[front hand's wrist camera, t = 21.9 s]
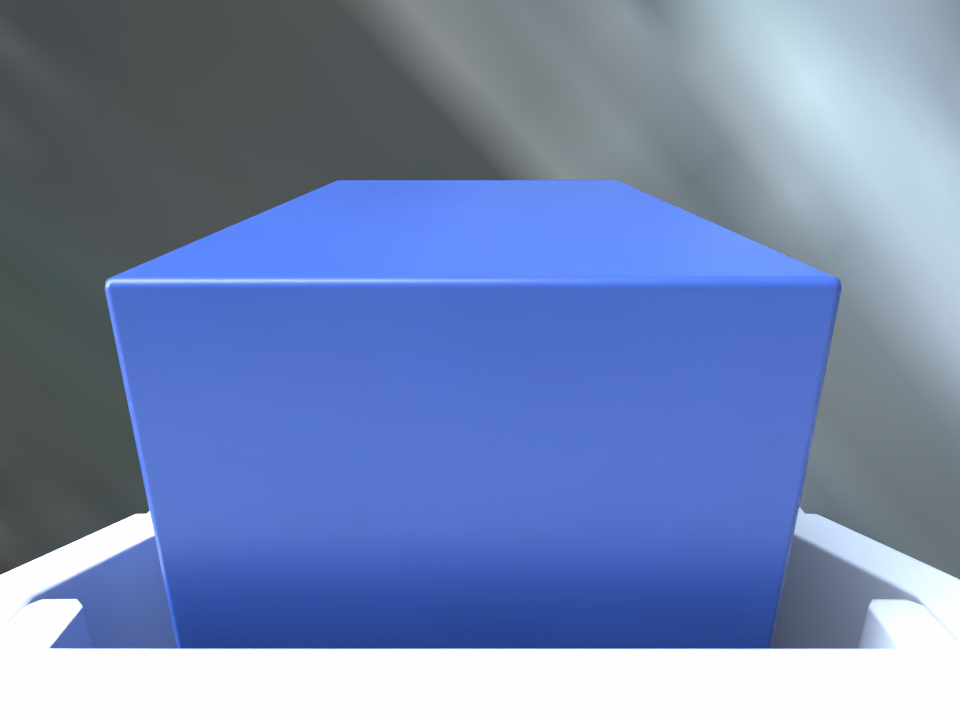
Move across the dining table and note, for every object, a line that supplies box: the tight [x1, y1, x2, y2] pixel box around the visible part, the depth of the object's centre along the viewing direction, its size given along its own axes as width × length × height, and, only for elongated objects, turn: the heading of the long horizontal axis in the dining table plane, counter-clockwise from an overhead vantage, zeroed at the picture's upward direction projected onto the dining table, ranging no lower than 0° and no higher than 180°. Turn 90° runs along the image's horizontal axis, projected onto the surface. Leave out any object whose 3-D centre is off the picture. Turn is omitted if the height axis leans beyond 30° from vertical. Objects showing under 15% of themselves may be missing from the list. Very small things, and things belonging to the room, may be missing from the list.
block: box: [105, 180, 841, 649], centre depth 10 cm, size 5×8×8 cm, turn 0°
